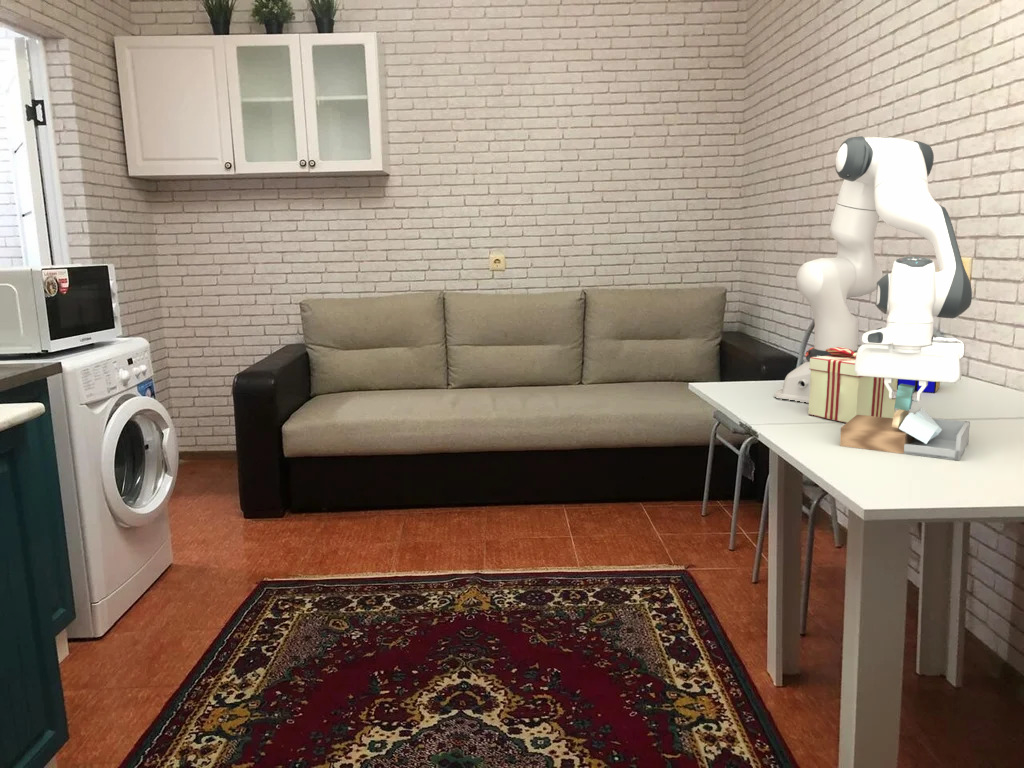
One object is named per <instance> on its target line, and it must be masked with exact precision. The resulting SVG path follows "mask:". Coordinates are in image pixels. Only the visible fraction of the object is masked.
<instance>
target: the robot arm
mask: <svg viewBox="0 0 1024 768" xmlns="http://www.w3.org/2000/svg"><path fill="white" fill-rule="evenodd" d="M934 156H935V155H934V151H933V148H932V146H931V145H929V144H928V143H925V142H923V141H918V140H914V141H913V140H908V139H904V138H899V137H897V138H896V137H877V136H876V137H864V136H852V137H849V138H846V139H845V140H844V141H843V142H842V143H841V145H840V146H839V147H838V150H837V152H836V155H835V164H834V165H835V166H834V167H835V172H836V174H837V175H838V177H839V178H840V179H843V182H842V184H841V186H840V189H839V192H838V195H837V198H836V203H835V207H834V211H833V214H832V219H831V222H830V226H829V234H830V236H831V238H832V239H834V240H835V241H836V245H837V251H836V252H837V253H836V256H835V257H820V258H816V259H813V260H810V261H807V262H804V263H802V265H800V267H799V269H798V270H797V274H796V277H795V283H796V288H797V290H798V292H799V293H800V294H801V295H802V296H803V297H804V298H805V300H807V302H808V304H809V307H810V308H811V312H812V315H813V321H814V322H813V323H814V337H813V338H814V340H813V341H814V342H813V343H814V346H812V347H811V348H809V349H807V350H806V352H805V355H804V356H805V358H806V359H805V360H806V361H805V362H803V363H801V364H800V365H799V366H797V367H795V368H794V369H793V370H791V371H790V372H788V373H787V375H786V376H785V378H784V382H783V386H782V388H781V389H779V390H778V389H777V391H775V392H774V395H773V397H774V396H775V397H778V398H784V399H789V400H788V401H790V400H795V401H794V402H797V401H800V402H799V403H804V402H806V403H805V404H809V395H810V377H811V370H810V369H809V365H810V358H811V357H819V356H827V355H831V354H830V353H828V352H827V351H826V349H829V348H833V347H845V348H848V349H850V350H853V351H854V352H855V353H856V352H857V355H856V360H855V367H854V371H855V373H856V374H857V375H858V376H865V377H879V378H884V384H885V385H886V387H887V389H888V391H889V399H896V396H897V390H894V389H893V387H892V385H891V383H892V382H893V379H897V380H898V379H906V380H919V386H922V387H921V388H920V389H919V391H918V392H917V391H915V392H913V393H912V397H913V398H912V402H921V400H922V399H921V398H922V393H924V392H923V390H924V389H925V388H926V386H927V385H928V381H932V382H940V383H947V384H956V383H957V382H959V381H960V380H961V379H962V375H963V374H962V373H963V372H962V369H963V367H962V359H963V358H964V357H965V354H966V345H965V343H964V342H963V341H962V340H960V339H958V338H957V337H954V336H953V337H946V336H945V337H943V336H934V325H935V324H934V322H935V319H934V317H936V318H940V319H941V318H943V319H955V318H957V317H960V316H961V315H962V314H963V313H965V312H966V311H967V310H968V309H969V308H970V307H971V304H972V299H973V288H972V284H971V281H970V278H969V276H968V273H967V271H966V269H965V266H964V263H963V259H962V256H961V252H960V247H959V245H958V241H957V237H956V234H955V230H954V227H953V223H952V220H951V217H950V215H949V212H948V211H947V209H946V207H944V206H942V205H941V204H938V202H937V201H936V200H935V199H934V198H933V196H932V193H931V192H930V190H929V188H930V187H929V175H930V174H931V171H932V169H933V165H934V161H935V160H934V158H935V157H934ZM879 218H880V219H881V220H882V221H883V222H884V223H885V224H887V225H889V226H891V227H892V228H895V229H898V230H902V231H906V232H909V233H913V234H915V235H918V236H920V237H923V238H924V239H926V240H927V241H928V242H930V244H931V245H932V247H933V251H934V255H935V259H936V262H937V267H938V269H939V271H936V267H935V262H934V261H933V260H932V259H930V258H928V257H922V256H905V257H904V256H903V257H900V258H898V259H895V260H894V262H893V264H892V268H891V272H890V273H886V274H885V275H883V269H882V267H881V264H880V263H879V262H878V261H877V259H876V256H875V248H874V244H875V235H876V231H877V227H878V222H879ZM874 292H876V297H875V298H876V299H875V303H874V304H875V305H874V306H875V307H876V308H877V310H879V311H880V312H881V313H883V314H884V315H888V316H887V317H886V326H885V327H877V328H875V329H872V330H868V331H866V332H864V333H863V334H862V336H861V342H862V343H863V344H861V345H860V346H859V329H860V323H859V320H858V318H857V317H856V316H855V315H853V314H852V313H851V311H850V309H849V306H848V301H847V298H848V299H849V298H860V297H863V296H866V295H868V294H872V293H874ZM775 397H774V398H775Z"/></svg>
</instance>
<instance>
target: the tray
mask: <svg viewBox="0 0 1024 768" xmlns="http://www.w3.org/2000/svg"><path fill="white" fill-rule="evenodd" d="M931 418H932V419H933V420H934V421H935V422H936V423H937V425H938V426H939V427H940V428H941V429H942V430H941V432H940V433H939V434H938V435H937V436H935V437H934V438H932V439H931V440H929V441H928V443H927V444H925V443H924V442H922V441H920V440H918V439H916V438H914V439H913V440H912V442H911V443H910V444H904V454H903V455H911V456H916V457H917V456H918V457H924V458H925V457H927V458H932V459H933V458H934V459H940V460H949V461H960V460H961V458H962V457H963V454H964V453H965V451H966V449H967V447H968V445H969V436H970V428H971V427H970V424H971V421H966V420H958V419H948V418H947V419H946V418H936V417H931Z"/></svg>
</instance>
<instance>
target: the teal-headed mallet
mask: <svg viewBox="0 0 1024 768" xmlns="http://www.w3.org/2000/svg"><path fill="white" fill-rule="evenodd" d="M914 389H915V386H913V385H907V384H900V385H898V390H897V396H896V401H895V407H894V408H895V413H894V416H893V422H892V427H894V428H898V427H899V426H900V425H901V424H902V422H903V421H904V419H905V418H906V416H907V415H908V414H909V413H910V410H911V409H912V405H913V401H912V398H913V397H912V393H913V392H914ZM896 409H897V410H896Z"/></svg>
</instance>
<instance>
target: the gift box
mask: <svg viewBox="0 0 1024 768" xmlns="http://www.w3.org/2000/svg"><path fill="white" fill-rule="evenodd" d="M826 351H827V352H828V353H830V354H831V355H827V356H819V357H811V358H810V365H809V369H810V370H811V377H810V395H809V403H808V412H807V413H808V415H809V414H810V416H813V415H814V416H813V417H818V418H823V419H826V420H831V421H835V422H841V423H845V424H846V423H847V422H849V421H850V420H851V419H852V418H854V417H855V416H856V415H866V416H876V417H885V418H893V416H894V413H895V412H896V409H895V408H894V407H895V401H896V399H889V391H888V389H887V387H886V385H885V384H884V378H879V377H865V376H858V375H857V374H856V373H855V371H854V367H855V360H856V355H857V352H856V353H855V352H854V351H853V350H850V349H848V348H845V347H833V348H829V349H826ZM897 380H898V379H893V382H892V383H891V385H892V387H893V389H894V390H897Z"/></svg>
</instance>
